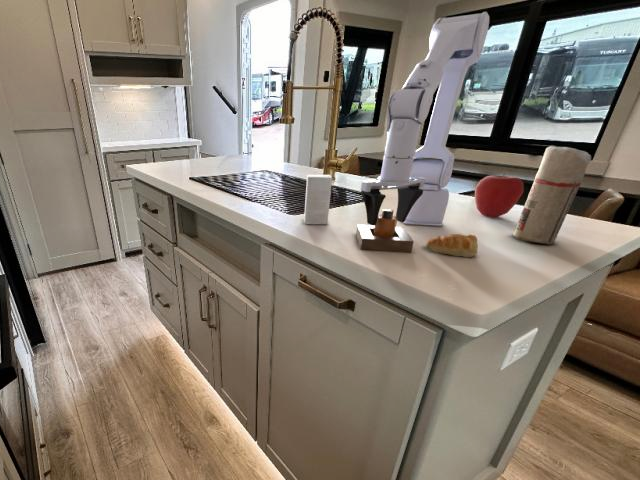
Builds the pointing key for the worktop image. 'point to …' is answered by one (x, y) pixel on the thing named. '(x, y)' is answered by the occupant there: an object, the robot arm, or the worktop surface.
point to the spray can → (552, 194)
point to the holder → (384, 240)
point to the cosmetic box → (317, 199)
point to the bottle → (385, 224)
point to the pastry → (454, 245)
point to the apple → (497, 194)
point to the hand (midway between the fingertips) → (385, 222)
